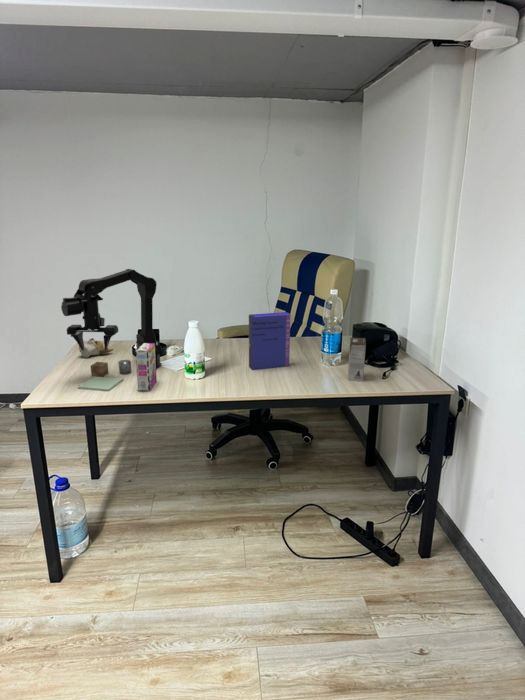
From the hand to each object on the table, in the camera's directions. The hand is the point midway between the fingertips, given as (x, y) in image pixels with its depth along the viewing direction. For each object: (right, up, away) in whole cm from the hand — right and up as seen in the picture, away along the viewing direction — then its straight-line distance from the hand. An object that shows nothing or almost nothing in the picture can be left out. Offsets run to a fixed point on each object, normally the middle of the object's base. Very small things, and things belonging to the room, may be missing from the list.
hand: (94, 350), depth 189 cm
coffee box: (+107, -11, +9) cm, 108 cm away
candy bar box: (+22, -14, -2) cm, 26 cm away
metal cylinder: (+9, -9, +13) cm, 18 cm away
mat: (+3, -14, -1) cm, 14 cm away
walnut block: (-1, -10, +10) cm, 14 cm away
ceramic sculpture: (-13, -2, +36) cm, 39 cm away
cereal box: (+70, -7, +21) cm, 74 cm away
